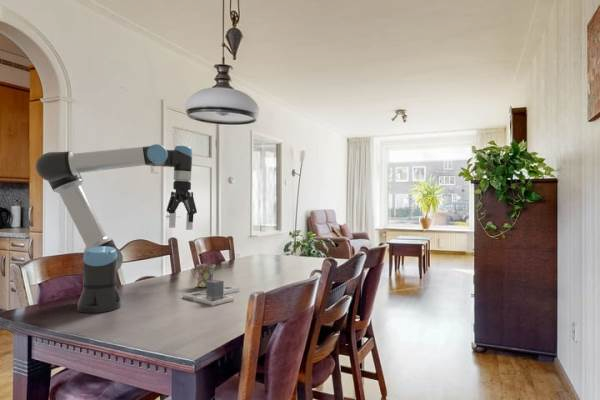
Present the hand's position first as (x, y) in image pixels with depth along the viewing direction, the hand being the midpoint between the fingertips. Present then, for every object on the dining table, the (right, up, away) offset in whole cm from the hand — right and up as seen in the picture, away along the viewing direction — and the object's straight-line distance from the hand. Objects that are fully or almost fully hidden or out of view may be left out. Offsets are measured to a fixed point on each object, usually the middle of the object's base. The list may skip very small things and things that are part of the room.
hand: (180, 228), depth 178 cm
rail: (+13, -30, +4) cm, 33 cm away
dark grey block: (+17, -30, -8) cm, 35 cm away
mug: (+5, -30, +21) cm, 37 cm away
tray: (+17, -30, -8) cm, 36 cm away
